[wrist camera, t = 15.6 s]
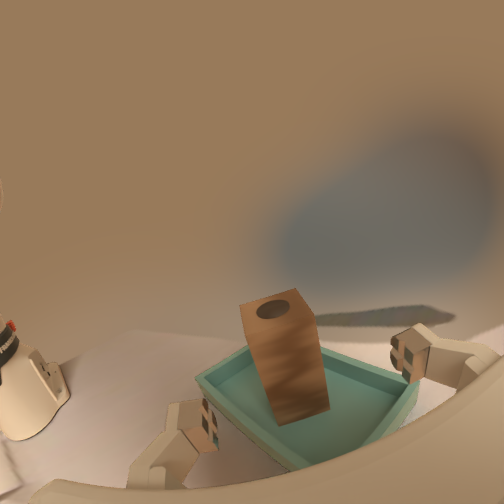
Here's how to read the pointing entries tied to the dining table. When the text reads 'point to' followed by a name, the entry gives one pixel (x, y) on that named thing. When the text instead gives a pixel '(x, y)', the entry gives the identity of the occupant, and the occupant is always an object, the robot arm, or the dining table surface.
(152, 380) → the dining table surface
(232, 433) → the dining table surface
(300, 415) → the block
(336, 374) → the tray
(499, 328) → the dining table surface
